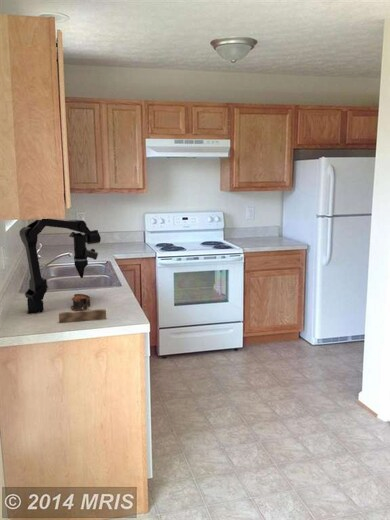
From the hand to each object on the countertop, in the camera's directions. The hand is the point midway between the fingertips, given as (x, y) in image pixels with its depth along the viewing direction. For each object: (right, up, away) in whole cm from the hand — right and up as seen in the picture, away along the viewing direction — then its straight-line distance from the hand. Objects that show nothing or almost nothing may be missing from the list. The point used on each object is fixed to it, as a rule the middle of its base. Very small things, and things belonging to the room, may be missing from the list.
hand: (81, 276), depth 234 cm
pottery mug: (+2, -15, -9) cm, 18 cm away
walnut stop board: (+7, -18, -27) cm, 34 cm away
